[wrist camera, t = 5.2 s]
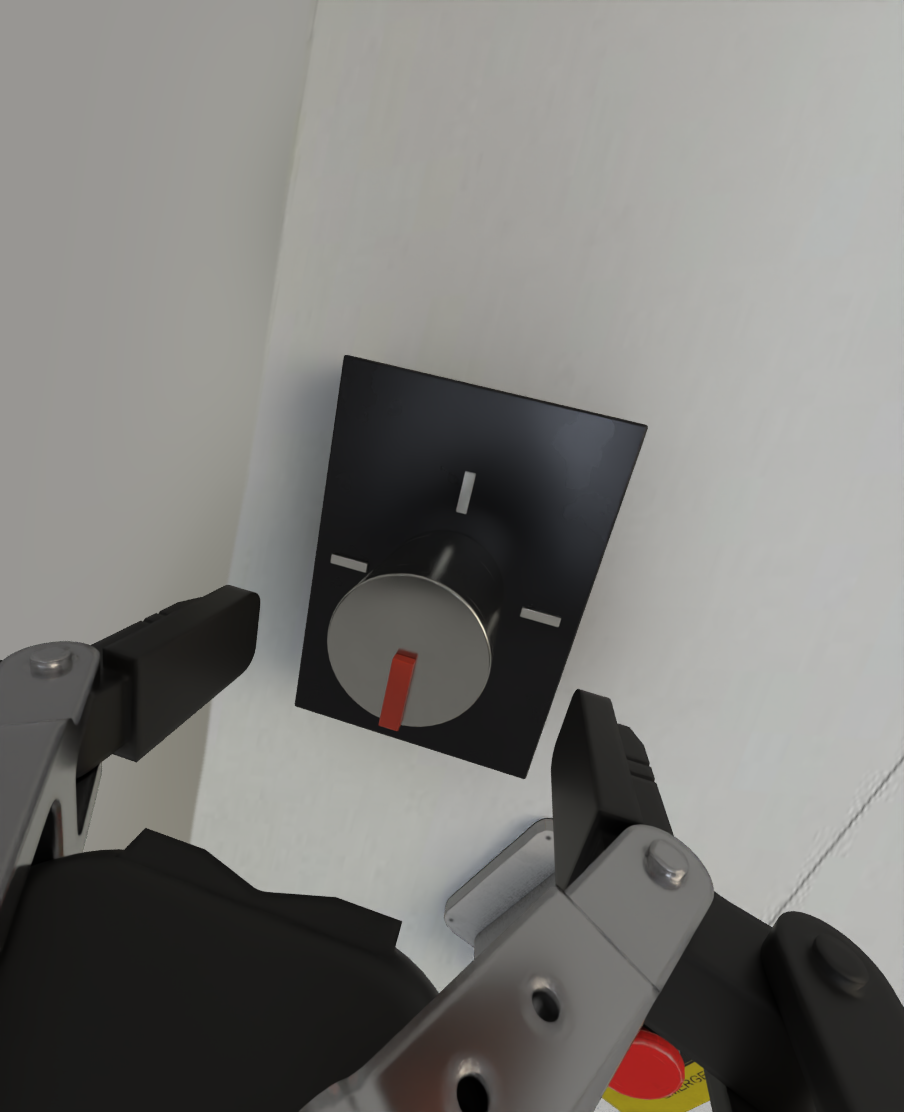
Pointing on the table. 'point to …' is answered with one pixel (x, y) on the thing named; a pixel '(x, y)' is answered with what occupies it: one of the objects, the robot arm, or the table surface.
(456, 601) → the hob knob
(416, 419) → the panel
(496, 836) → the table surface
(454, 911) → the emergency button
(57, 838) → the robot arm
